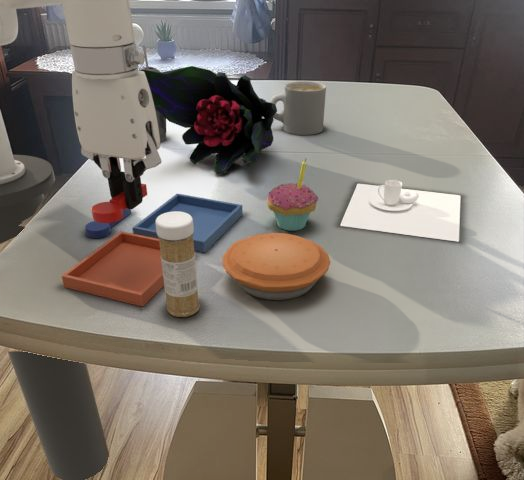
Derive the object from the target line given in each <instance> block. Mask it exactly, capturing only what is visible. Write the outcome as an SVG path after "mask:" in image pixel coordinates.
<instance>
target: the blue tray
mask: <svg viewBox="0 0 524 480" xmlns="http://www.w3.org/2000/svg"><path fill="white" fill-rule="evenodd" d="M173 211H179V212H185V213H187V214H189V215H191V217H192V219H193V226H194V232H193V243H194V252H199V253H206V252H207V251H208V250H209V249H210V248H211V247H213V245H214V244H215V243H216V242H217V241H218V240H220V238H221V237H223V235H224V234H225V233H227V231H228V230H229V229H230V228H231V227H232V226H234V224H235V223H236V222H237V221H238V220H239V219H240V218H241V217H242V216H243V214H244V213H243V204H239V203H233V202H229V201H220V200H216V199H210V198H205V197H200V196H193V195H188V194H182V193H175V194H174V195H173V196H172V197H171V198H169V199H168V200H167V201H165V202H164V203H162V205H160V206H159V207H157V208H156V209H155V210H153V211H152V212H151V213H150V214H148V215H147V216H146V217H144V218H142V220H140V221H139V222H138V223H136V224H135V225H134V226H132V234H137V235H142V236H146V237H151V238H156V239H159V238H158V235H157V232H156V219H157V217H158V216H160V215H161V214H164V213H167V212H173Z"/></svg>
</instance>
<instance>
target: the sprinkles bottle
mask: <svg viewBox="0 0 524 480" xmlns="http://www.w3.org/2000/svg"><path fill="white" fill-rule="evenodd" d="M156 232H157V235H158V238H159V243H160V252H161V263H162V271H163V279H164V286H163V288H164V292H165V298H166V310H167V313H169V314H170V315H171V316H173V317H178V318H186V317H190V316H193V315H194V314H196V313H197V312H199V310H200V307H201V305H200V302H199V295H198V294H199V293H198V292H199V291H198V275H197V262H196V253H195V251H194V243H193V232H194V226H193V219H192V217H191V215H189V214H187V213H185V212H179V211H173V212H167V213H164V214H161V215H160V216H158V217H157V219H156Z"/></svg>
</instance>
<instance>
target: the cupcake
mask: <svg viewBox="0 0 524 480" xmlns="http://www.w3.org/2000/svg"><path fill="white" fill-rule="evenodd" d="M307 159H308V158H307V157H305V158H304V161H302V162H301V168H300V172H299V177H298V180H297V182H295V183H282V184H279V185H277V186H275V187H274V188H272V189H271V190H270V191H268V195H267V198H266V203H267V209H269V211H272V212H273V215H274V217H275V219H276V223H277V226H278V227H279V228H280V229H281V230H284V231H290V232H294V231H295V232H296V231H300V230H303V229H304V228H305V227H306V225H307V221H308V219H309V216H310V215H311V213H312V212H314V211H315V210H316V209H317V205H318V201H319V197H318V196H317V194H316V193H315V192H314V190H313V189H311V188H310V187H309V186H307V185H305V184H303V181H304V176H305V171H306V168H307V162H306V161H307Z"/></svg>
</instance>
